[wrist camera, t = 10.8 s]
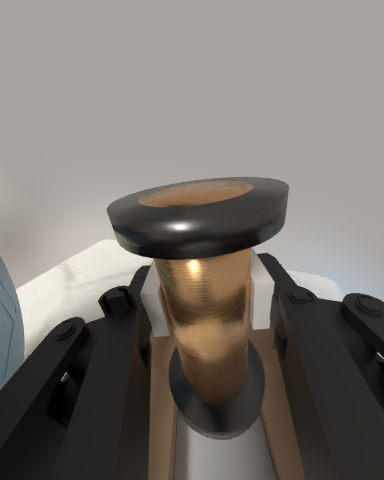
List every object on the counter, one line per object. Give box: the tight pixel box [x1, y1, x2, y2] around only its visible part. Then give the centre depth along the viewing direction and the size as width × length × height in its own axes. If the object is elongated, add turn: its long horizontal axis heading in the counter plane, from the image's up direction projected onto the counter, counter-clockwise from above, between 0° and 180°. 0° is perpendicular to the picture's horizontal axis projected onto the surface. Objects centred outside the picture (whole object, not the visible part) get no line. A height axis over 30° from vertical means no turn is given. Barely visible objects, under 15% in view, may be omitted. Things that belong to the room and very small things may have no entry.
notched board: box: [148, 320, 306, 480], centre depth 17 cm, size 18×16×2 cm
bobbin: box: [107, 177, 289, 440], centre depth 9 cm, size 6×6×12 cm
